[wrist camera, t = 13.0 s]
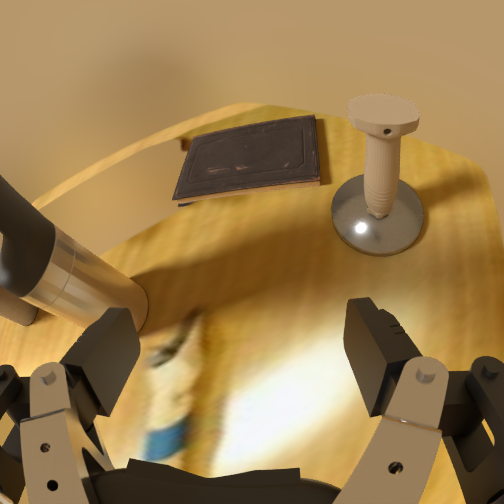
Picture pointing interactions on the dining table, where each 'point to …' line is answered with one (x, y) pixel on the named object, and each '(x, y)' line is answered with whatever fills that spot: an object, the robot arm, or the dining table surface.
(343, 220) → the disk
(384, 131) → the handle
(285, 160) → the hardcover book
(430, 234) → the dining table surface
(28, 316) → the pillar candle
